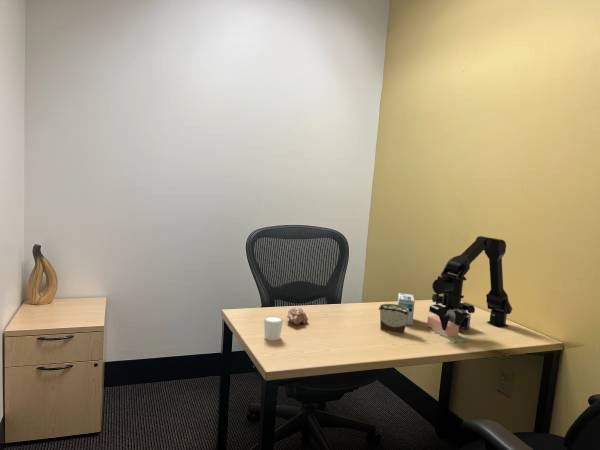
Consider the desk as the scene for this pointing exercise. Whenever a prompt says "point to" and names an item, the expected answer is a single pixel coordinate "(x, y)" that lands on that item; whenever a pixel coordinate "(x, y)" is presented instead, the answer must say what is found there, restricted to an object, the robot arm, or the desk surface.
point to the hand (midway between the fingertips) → (449, 329)
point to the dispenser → (465, 322)
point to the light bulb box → (407, 305)
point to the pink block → (436, 324)
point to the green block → (452, 337)
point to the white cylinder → (272, 327)
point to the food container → (393, 318)
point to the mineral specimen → (297, 316)
